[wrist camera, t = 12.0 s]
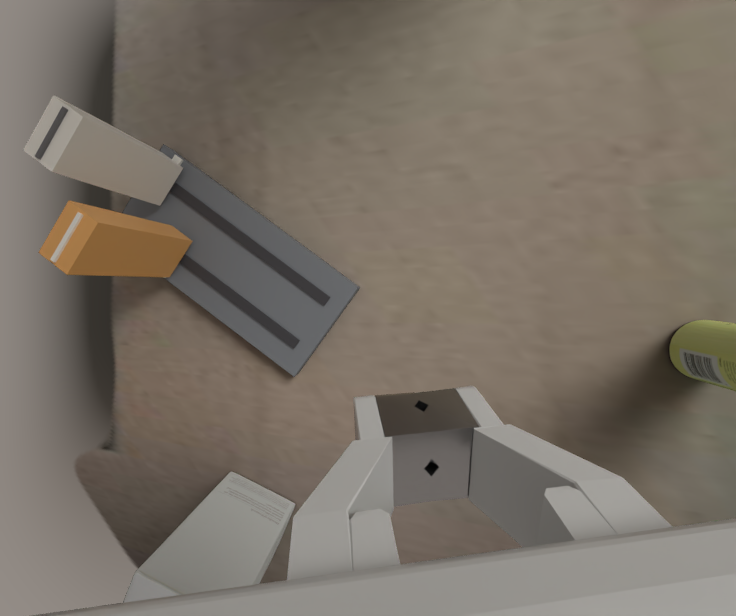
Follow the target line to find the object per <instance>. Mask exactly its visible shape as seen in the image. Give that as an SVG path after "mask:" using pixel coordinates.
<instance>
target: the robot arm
mask: <svg viewBox="0 0 736 616" xmlns="http://www.w3.org/2000/svg"><path fill="white" fill-rule="evenodd" d="M354 421H355V439H356V440H355V441H352V442H351V444H350V445H349V446H348V448H347V449H346V450H345V451H344V453H343V454H342V455H341V457H340V458H339V459H338V460H337V462H336V463H335V464H334V466H333V467H332V468H331V469H330V471H329V472H328V473H327V475H326V476H325V477H324V478H323V480H322V481H321V482H320V484H319V485H318V486H317V487H316V489H315V490H314V491H313V493H312V494H311V495H310V496H309V498H308V499H307V500H306V502H305V503H304V504H303V505H302V507H301V508H300V509H299V511H298V512H297V513H296V514H295V516H294V517H293V526H292V535H291V545H290V555H289V565H288V575H287V580H284V581H277V582H270V583H263V584H255V585H248V586H241V587H234V588H227V589H219V590H212V591H205V592H198V593H190V594H183V595H176V596H169V597H161V598H154V599H147V600H140V601H133V602H125V603H118V604H111V605H104V606H97V607H90V608H83V609H75V610H68V611H60V612H53V613H46V614H38V615H32V616H736V518H733V519H726V520H719V521H712V522H705V523H698V524H690V525H683V526H675V527H672V526H671V525H670V524H669V523H668V522H667V521H666V520H665V519H664V518H663V517H662V516H661V515H660V514H659V513H658V512H657V511H656V510H655V509H654V508H653V507H652V506H651V505H650V504H649V503H648V502H647V501H646V500H645V499H644V498H643V497H642V496H641V495H640V494H639V493H638V492H637V491H636V490H635V489H634V488H633V487H632V486H631V485H630V484H629V483H628V482H627V481H626V480H625V479H624V478H623V477H620V476H618V475H616V474H614V473H612V472H610V471H608V470H606V469H604V468H601V467H599V466H597V465H595V464H593V463H591V462H589V461H587V460H585V459H582V458H580V457H578V456H576V455H574V454H572V453H570V452H568V451H566V450H563V449H561V448H559V447H557V446H555V445H553V444H551V443H549V442H547V441H544V440H542V439H540V438H538V437H536V436H534V435H532V434H530V433H528V432H525V431H523V430H521V429H519V428H517V427H515V426H513V425H511V424H508V425H504V424H503V423H502V422H501V420H500V419H499V418H498V416H497V415H496V414H495V412H494V411H493V410H492V408H491V407H490V406H489V404H488V403H487V402H486V400H485V399H484V398H483V397H482V395H481V394H480V393H479V391H478V390H477V389H476V387H474V386H467V387H459V388H453V389H444V390H436V391H428V392H419V393H414V392H413V393H400V394H386V395H375V396H374V395H371V396H361V397H354ZM459 498H469V500H470V501H471V502H472V503H473V504H474V505H475V506H477V507H478V508H479V509H480V510H481V511H482V512H483V513H485V514H486V515H487V516H488V517H489V518H490V519H491V520H493V521H494V522H495V523H496V524H497V525H498V526H499V527H501V528H502V529H503V530H504V531H505V532H506V533H507V534H509V535H510V536H511V537H512V538H513V539H514V540H515V541H517V542H518V543H519V544H520V545H521V546H522V548H515V549H508V550H500V551H493V552H486V553H479V554H472V555H465V556H457V557H450V558H443V559H436V560H429V561H421V562H414V563H407V564H400V562H399V557H398V552H397V548H396V543H395V538H394V533H393V528H392V523H391V519H390V517H391V515H392V512H393V510H394V507H395V506H402V505H408V504H415V503H421V502H428V501H437V500H448V499H459Z"/></svg>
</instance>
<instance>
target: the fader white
mask: <svg viewBox="0 0 736 616" xmlns="http://www.w3.org/2000/svg"><path fill="white" fill-rule="evenodd" d="M23 151H25V152H26V153H27V154H29V155H30V156H31V157H33V158H34V159H35V160H37V161H38V162H39V163H41V164H42V165H43V166H45V167H46V168H47V169H49V170H50V171H51V172H53V173H57V174H60V175H63V176H66V177H69V178H73V179H76V180H79V181H82V182H85V183H89V184H92V185H95V186H99V187H101V188H105V189H108V190H111V191H114V192H117V193H121V194H124V195H127V196H130V197H133V198H137V199H140V200H143V201H146V202H149V203H153V204H156V205H159V206H160V205H161V204H162V202H163V200H164V199H165V197H166V195H167V194H168V192H169V191H170V189H171V187H172V186H173V184H174V182H175V181H176V179H177V178H178V176H179V174H180V173H181V171H182V169H183V167H181V166H180V165H178V164H177V163H176V162H174V161H173V160H172V159H170V158H169V157H168V156H166V155H165V154H164V153H162V152H160V151H158V150H156V149H155V148H153V147H151V146H149V145H147V144H145V143H143V142H141V141H139V140H138V139H136V138H134V137H132V136H130V135H128V134H126V133H124V132H123V131H121V130H119V129H117V128H115V127H113V126H111V125H109V124H107V123H105V122H104V121H102V120H100V119H98V118H96V117H94V116H92V115H90V114H89V113H87V112H85V111H83V110H81V109H79V108H77V107H75V106H73V105H72V104H69V103H67V102H66V101H64V100H62V99H60V98H58V97H56V96H54V95H53V97H52V98H51V100H50V102H49V104H48V106H47V108H46V109H45V111H44V113H43V115H42V117H41V118H40V120H39V122H38V124H37V126H36V128H35V130H34V131H33V133H32V135H31V137H30V138H29V140H28V142H27V144H26V146H25V147H24V149H23Z"/></svg>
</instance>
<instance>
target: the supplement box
mask: <svg viewBox="0 0 736 616" xmlns="http://www.w3.org/2000/svg"><path fill="white" fill-rule="evenodd" d="M294 507H295V503H293V502H291V501H290V500H288V499H286V498H284V497H282V496H280V495H278V494H276V493H274V492H272V491H270V490H268V489H266V488H264V487H262V486H261V485H259V484H257V483H255V482H253V481H251V480H249V479H247V478H245V477H243V476H241V475H239V474H236V473H234V472H230V473H229V474H228V475H227V476H226V477H225V478H224V479H223V480H222V481H221V482H220V483H219V484H218V485H217V486H216V487H215V488H214V489H213V490H212V491H211V492H210V494H209V495H208V496H207V497H206V498H205V499H204V500H203V501H202V502H201V503H200V504H199V505H198V506H197V507H196V508H195V509H194V510H193V511H192V513H191V514H190V515H189V516H188V517H187V518H186V519H185V520H184V521H183V522H182V523H181V524H180V525H179V526H178V527H177V528H176V530H175V531H174V532H173V533H172V534H171V535H170V536H169V537H168V538H167V539H166V540H165V541H164V542H163V543H162V544H161V545H160V546H159V547H158V548H157V550H156V551H155V552H154V553H153V554H152V555H151V556H150V557H149V558H148V559H147V560H146V561H145V562H144V563H143V564H142V565H141V566H140V567H139V568H138V569H137V570H136V572H135V574H134V576H133V579H132V581H131V584H130V586H129V588H128V591H127V593H126V596H125V599H124V601H123V603H125V602H133V601H140V600H147V599H154V598H161V597H169V596H176V595H183V594H190V593H198V592H205V591H212V590H219V589H227V588H234V587H241V586H248V585H255V584H259V583H260V581H261V579H262V577H263V575H264V573H265V571H266V569H267V568H268V566H269V564H270V562H271V560H272V557H273V555H274V553H275V551H276V549H277V547H278V545H279V543H280V540H281V538H282V536H283V533H284V531H285V529H286V526H287V524H288V521H289V519H290V517H291V514H292V512H293V510H294Z"/></svg>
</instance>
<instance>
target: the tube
mask: <svg viewBox="0 0 736 616" xmlns="http://www.w3.org/2000/svg"><path fill="white" fill-rule="evenodd" d="M669 352H670V358H671V360H672V363H673V364H674V366H675V367H676V368H677V369H678V370H679V371H680V372H681V373H683V374H684V375H686V376H688V377H691V378H694V379H697V380H700V381H703V382H706V383H710V384H713V385H716V386H720V387H723V388H727V389H730V390H733V391H736V324H734V323H727V322H719V321H711V320H697V321H693V322H690V323H688V324H685V325H684V326H682V327H681V328H680V329H679V330H678V331H676V333H675V334H674V336H673V337H672V339H671V343H670V347H669Z"/></svg>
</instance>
